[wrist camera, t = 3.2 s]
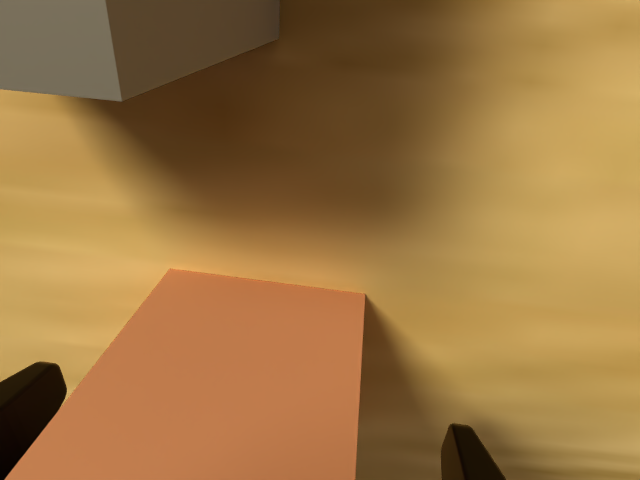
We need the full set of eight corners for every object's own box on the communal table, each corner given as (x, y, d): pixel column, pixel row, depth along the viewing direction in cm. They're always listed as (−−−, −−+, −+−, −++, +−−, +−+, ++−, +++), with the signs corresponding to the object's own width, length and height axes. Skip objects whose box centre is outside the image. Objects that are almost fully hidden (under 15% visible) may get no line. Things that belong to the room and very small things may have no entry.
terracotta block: (188, 398, 12) (41, 703, 7) (170, 267, 10) (-71, 575, 5) (345, 423, 12) (317, 762, 6) (364, 293, 9) (346, 657, 4)
